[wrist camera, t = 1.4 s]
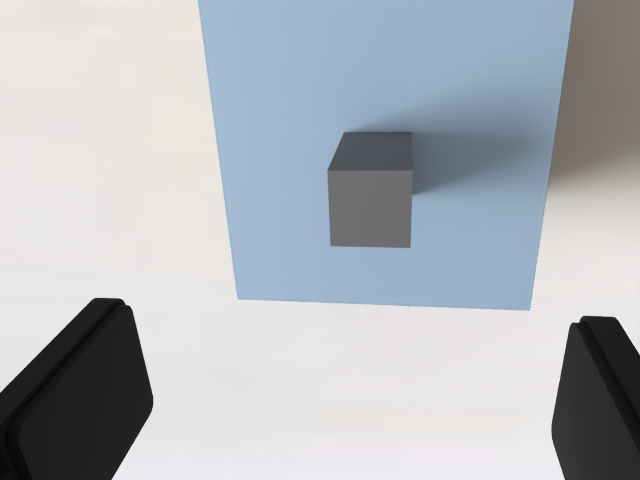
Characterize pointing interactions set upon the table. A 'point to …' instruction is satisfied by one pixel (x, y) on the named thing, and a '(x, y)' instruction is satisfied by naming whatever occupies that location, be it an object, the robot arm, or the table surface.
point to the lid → (386, 146)
